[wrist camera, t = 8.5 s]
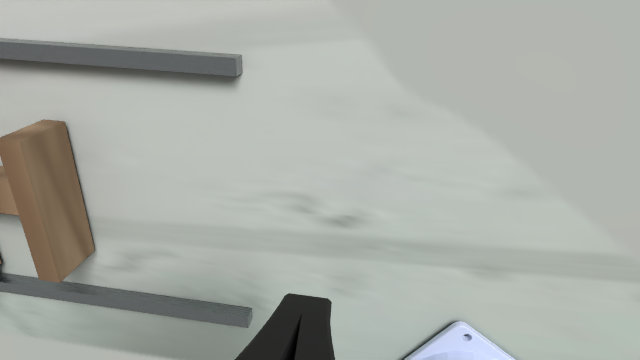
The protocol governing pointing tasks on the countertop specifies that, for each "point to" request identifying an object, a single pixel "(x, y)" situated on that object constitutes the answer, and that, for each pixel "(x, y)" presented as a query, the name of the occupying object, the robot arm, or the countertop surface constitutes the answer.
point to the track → (133, 60)
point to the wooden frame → (45, 197)
